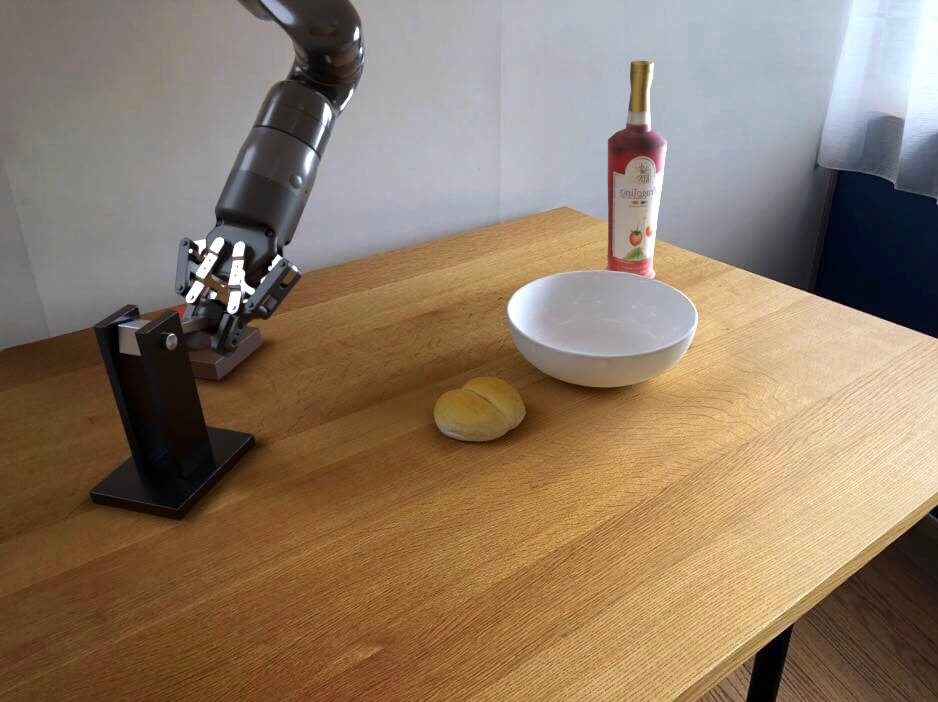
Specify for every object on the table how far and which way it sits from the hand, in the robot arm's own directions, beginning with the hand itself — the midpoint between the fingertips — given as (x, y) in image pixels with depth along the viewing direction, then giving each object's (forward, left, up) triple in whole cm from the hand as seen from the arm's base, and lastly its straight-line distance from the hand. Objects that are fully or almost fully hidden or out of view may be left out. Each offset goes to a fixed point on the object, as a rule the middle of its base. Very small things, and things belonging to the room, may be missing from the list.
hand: (202, 348), depth 81 cm
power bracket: (0, -8, -9) cm, 12 cm away
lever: (0, -3, +2) cm, 4 cm away
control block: (-12, +12, -9) cm, 19 cm away
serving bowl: (+33, +23, -9) cm, 42 cm away
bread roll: (+24, +8, -9) cm, 27 cm away
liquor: (+32, +46, -9) cm, 57 cm away
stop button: (-12, +12, -5) cm, 18 cm away
